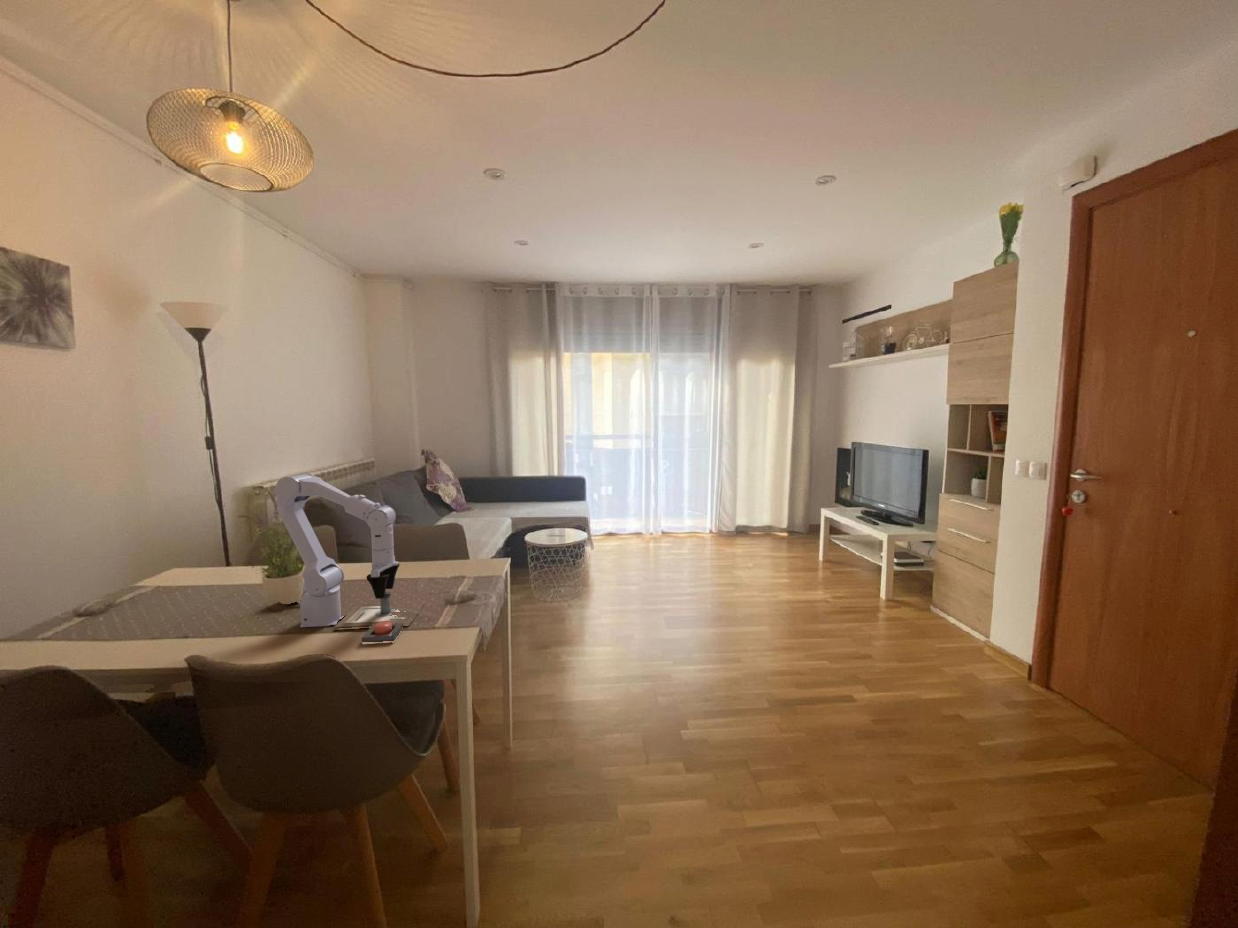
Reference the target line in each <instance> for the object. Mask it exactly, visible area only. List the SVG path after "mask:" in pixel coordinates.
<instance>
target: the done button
mask: <svg viewBox="0 0 1238 928" xmlns="http://www.w3.org/2000/svg"><path fill="white" fill-rule="evenodd" d="M391 631H392V623H391V622H389V621H385V622H380V623H377V624H375V625H374V634H375V635H376V634H390V633H391Z"/></svg>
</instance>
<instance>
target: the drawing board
mask: <svg viewBox="0 0 1238 928" xmlns="http://www.w3.org/2000/svg"><path fill="white" fill-rule="evenodd" d="M360 605H361V604H360ZM360 605H359V604H357V605H356V606H355V607H354V608H353V609H352V610H350V611H349V613H347V615H346V616H345V617H344V618H343V619H342V620H341V621H339V622H338V623H337V624H336V625H334V627H333V630H334V629H337V628H338V629H339V628H352V627H369V626H372V625H375V624H377V623H380V622H385V621H393V620H390V619H405V618H404V617H398V616H397V615H392V614H391V613H389V614H386V615H382V614H381V610H380V606H367V605H368V604H363V605H364V606H360ZM365 605H366V606H365ZM391 612H400V611H399V610H398V609H397V610H395V609H391ZM404 612H406V611H404ZM390 615H392V616H390ZM395 616H396V617H395Z"/></svg>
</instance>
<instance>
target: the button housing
mask: <svg viewBox="0 0 1238 928" xmlns="http://www.w3.org/2000/svg"><path fill="white" fill-rule="evenodd" d="M402 627H403V623H395V624H392V631H391V633H389V634H376V635H375V634H374V625H372V626H371V628H370V629H367V631H366V632H365V633H364V634H363V635H362V637H361V643H362V642H383V641H394V640H395V639H396V637H397V636H398V635H399V633H400V631H401V630H402ZM403 628H404V627H403ZM399 636H400V635H399Z"/></svg>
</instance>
